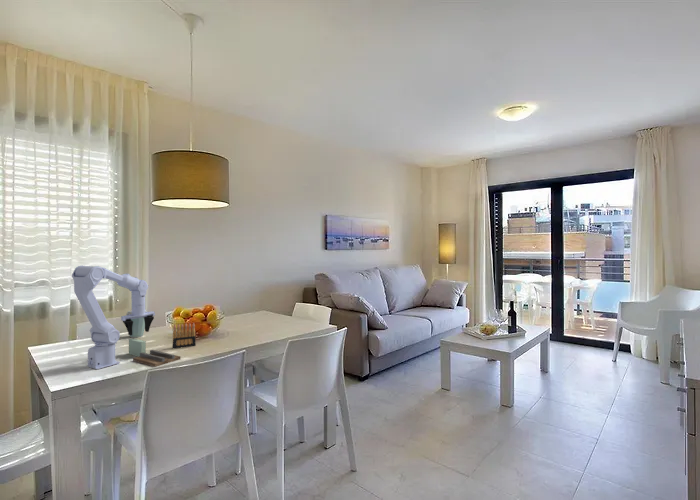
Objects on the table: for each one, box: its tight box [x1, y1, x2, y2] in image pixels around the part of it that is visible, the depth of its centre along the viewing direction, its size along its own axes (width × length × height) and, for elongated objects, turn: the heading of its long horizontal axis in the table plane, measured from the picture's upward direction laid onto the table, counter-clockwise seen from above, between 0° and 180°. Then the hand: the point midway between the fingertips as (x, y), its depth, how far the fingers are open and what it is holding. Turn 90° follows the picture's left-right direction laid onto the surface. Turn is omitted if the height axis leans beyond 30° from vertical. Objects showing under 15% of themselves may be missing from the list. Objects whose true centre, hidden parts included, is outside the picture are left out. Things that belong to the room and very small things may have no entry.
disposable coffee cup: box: [125, 309, 149, 339], centre depth 204 cm, size 11×11×15 cm
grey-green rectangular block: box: [128, 338, 147, 357], centre depth 171 cm, size 2×10×7 cm, turn 62°
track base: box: [132, 349, 181, 368], centre depth 164 cm, size 12×16×3 cm
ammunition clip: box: [172, 322, 197, 349], centre depth 185 cm, size 11×2×12 cm, turn 120°
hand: (138, 333), depth 173 cm, fingers open, 7 cm apart
